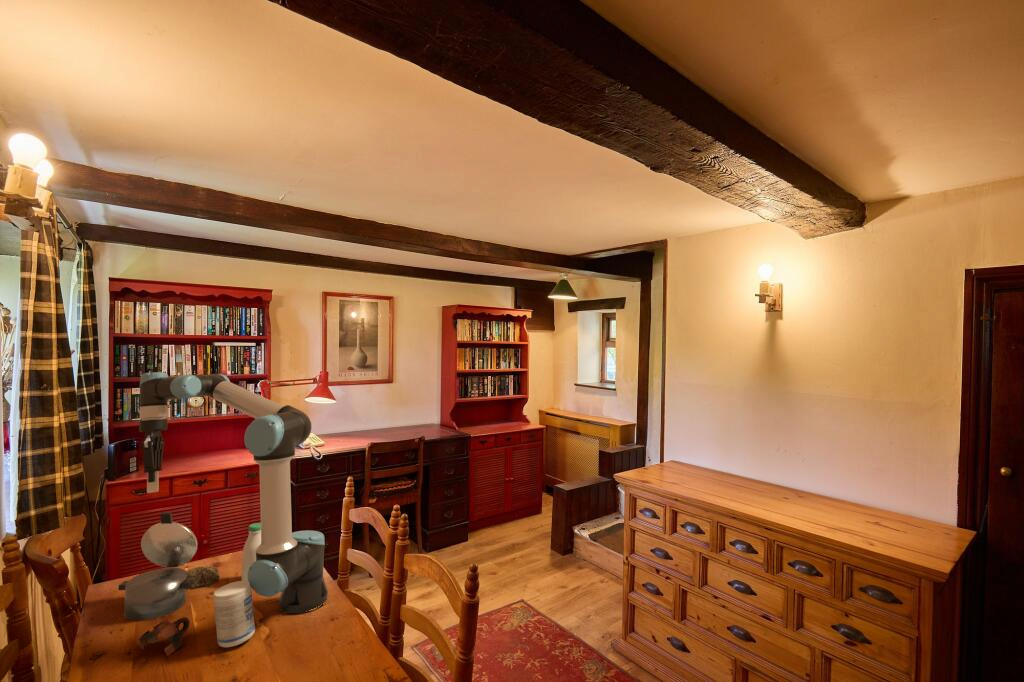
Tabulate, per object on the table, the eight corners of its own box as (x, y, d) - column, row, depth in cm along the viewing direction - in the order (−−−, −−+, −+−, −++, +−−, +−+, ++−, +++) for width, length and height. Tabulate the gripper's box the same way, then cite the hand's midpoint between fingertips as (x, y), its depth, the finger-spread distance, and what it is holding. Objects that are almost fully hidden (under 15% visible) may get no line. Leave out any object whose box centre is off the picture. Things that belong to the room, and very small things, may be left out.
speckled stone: (177, 579, 175) (178, 565, 175) (216, 570, 183) (217, 556, 183) (183, 593, 165) (183, 578, 165) (224, 582, 173) (224, 568, 174)
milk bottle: (258, 585, 172) (260, 529, 172) (236, 584, 172) (239, 528, 172) (269, 575, 179) (271, 521, 180) (248, 574, 180) (251, 520, 180)
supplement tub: (256, 639, 138) (252, 588, 138) (218, 653, 133) (213, 600, 133) (253, 624, 146) (249, 576, 146) (217, 637, 141) (212, 587, 141)
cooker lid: (192, 514, 160) (194, 512, 161) (136, 514, 158) (139, 512, 159) (197, 566, 165) (199, 564, 166) (144, 568, 163) (146, 565, 164)
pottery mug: (158, 665, 129) (143, 638, 129) (143, 669, 133) (128, 643, 133) (201, 630, 139) (188, 606, 139) (186, 635, 144) (173, 611, 144)
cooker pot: (176, 619, 149) (177, 590, 149) (102, 622, 146) (104, 592, 147) (204, 591, 166) (205, 565, 166) (138, 593, 163) (140, 567, 164)
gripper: (148, 420, 164) (147, 491, 161) (131, 420, 152) (130, 496, 149) (173, 418, 167) (173, 487, 163) (159, 418, 154) (158, 493, 151)
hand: (152, 492), depth 156 cm, fingers closed
